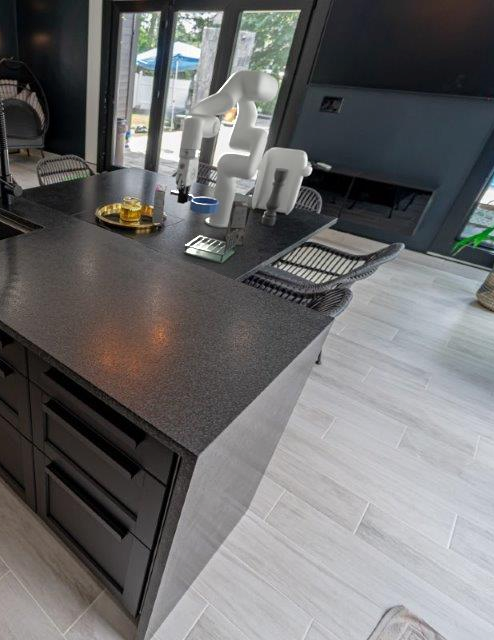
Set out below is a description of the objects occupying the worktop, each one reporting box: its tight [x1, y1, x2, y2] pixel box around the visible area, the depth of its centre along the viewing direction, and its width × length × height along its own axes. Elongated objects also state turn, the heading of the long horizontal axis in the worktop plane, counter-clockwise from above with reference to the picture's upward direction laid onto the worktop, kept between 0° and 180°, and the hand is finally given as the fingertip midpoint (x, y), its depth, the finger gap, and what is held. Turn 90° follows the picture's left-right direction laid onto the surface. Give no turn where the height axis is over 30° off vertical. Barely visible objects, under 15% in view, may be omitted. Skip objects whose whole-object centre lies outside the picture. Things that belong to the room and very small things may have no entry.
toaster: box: [251, 146, 313, 216], centre depth 208 cm, size 27×11×30 cm, turn 58°
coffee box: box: [225, 200, 252, 246], centre depth 172 cm, size 9×6×16 cm
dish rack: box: [183, 229, 238, 264], centre depth 162 cm, size 14×16×10 cm
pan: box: [169, 190, 219, 215], centre depth 161 cm, size 11×20×5 cm, turn 53°
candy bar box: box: [151, 184, 168, 227], centre depth 190 cm, size 11×5×16 cm, turn 168°
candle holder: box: [260, 168, 289, 227], centre depth 190 cm, size 6×6×25 cm
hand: (182, 202), depth 164 cm, fingers closed on pan
